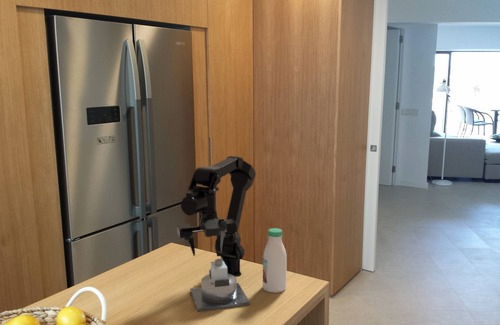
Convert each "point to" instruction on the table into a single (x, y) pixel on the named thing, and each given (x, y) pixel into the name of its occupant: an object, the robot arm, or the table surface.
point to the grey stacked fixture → (218, 294)
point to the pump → (218, 270)
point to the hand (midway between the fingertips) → (208, 253)
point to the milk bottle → (274, 263)
